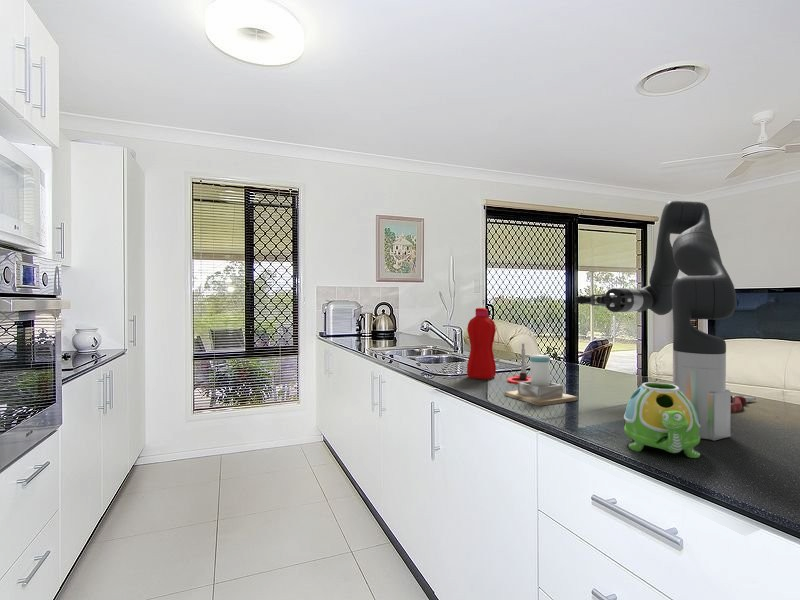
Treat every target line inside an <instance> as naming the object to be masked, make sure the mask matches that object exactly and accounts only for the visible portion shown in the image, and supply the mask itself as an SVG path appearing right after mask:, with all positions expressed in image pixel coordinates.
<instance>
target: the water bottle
mask: <svg viewBox="0 0 800 600" xmlns="http://www.w3.org/2000/svg"><path fill="white" fill-rule="evenodd" d="M489 315H490V313H489V310H488V309H487V308H485V307H477V308H475V316H474V317H472V318H471V319H469V321H468V324H467V335H468V339H469V343H470V352H469V356H468V359H467V365H466V367H467V368H466V376H467V377H468V378H469V379H475V380H483V381H486V380H490V379H492V378H494V377H495V376H496V373H497V370H496V369H497V366H496V365H497V364H496V359H495V356H494V351H493V345H496V346H499V344H500V343H499V342H500V339H499V337H500V336H497V340H498V341H497V344H495V337H496V336H495V335H496V334H497V335H499V333H498V329H497V325H496V323H495V320H493V319H492V318H491V317H489Z"/></svg>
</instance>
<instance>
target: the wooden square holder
mask: <svg viewBox="0 0 800 600" xmlns="http://www.w3.org/2000/svg"><path fill="white" fill-rule="evenodd" d="M525 381H526V380H525ZM563 388H564V387H563V384H558V383H555V382H550V386H545V387H537V386H533V385H531V381H526V382H518V384H517V389H516V390H508V391H504V393H503V394H504V396H506V397H509V398H513V399H516V400H519V401H523V402H525V403H528V404H529V403H530V404H533V405H536V406H538V407H542V406H549V405H554V404H561V403H562V404H563V403H567V402H576V401H578V396H575V395H571V394H567V393H564V392H563Z"/></svg>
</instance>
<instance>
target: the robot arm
mask: <svg viewBox="0 0 800 600" xmlns="http://www.w3.org/2000/svg"><path fill="white" fill-rule="evenodd" d="M710 216H711V215H710V209H709V207H708V205H707V204H706V203H704V202H700V201H688V200H686V201H685V200H670V201H668V202H666V203H665V205H664V207H663V209H662V212H661V216H660V222H659V227H658V233H657V238H656V240H657V241H656V249H655V258H654V263H653V266H652V271H651V274H650V277H649V285H646V286H644V287H641V288H635V289H634V288H628V287H626V288H625V287H624V288H623V287H614V288H613V287H612V288H610V289H608V290H607V291H606V293H600V294H590V295H579V296H578V295H577V296H575V301H574V303H575V304H577V305H579V304H580V305H590V306H595V307H596V306H599V307H606V309H607V310H608V311H610V312H612V313H631V312H644V311H648V310H650V311H651V312H653V313H655V314H656V315H658V316H664V315H667V314H669V313H670V312H671V311H672V324H673V326H672V327H673V334H672V335H673V337H672V339H673V340H672V384H673V385H676V386H678V387H679V389H680V391H681V392H682V393H683V394H684V395H685V396H686V397H687V398H688V399H689V400H690V402H691V403H692V404H693V406H694V409H695V411H696V413H697V416H698V421H699V424H700V428H699V436H700V439H705V440H709V441H710V440H711V441H717V440H721V439H726V438H729V437H731V413H732V412H731V396H732V394H731V390H730V389H726V388H727V387H726V386H727V383H726V382H727V379H726V378H727V374H726V373H727V370H726V369H727V343H726V340H725V339H723V338H721V337H719V336H715V335H712V334H709V333H706V332H704V331H702V330H700V329H698V328H696V327H695V326H693V324H692V322H691V320H712V321H713V320H725V319H727V318H729V317H732V315H733V314H734V312H735V311H736V307H737V292H736V288H735V285H734V283H733V280H732V279H731V277H730V275H729V273H728V271H727V270H726V267H725V266H724V264H723V261H722V257H721V254H720V250H719V246H718V243H717V241H716V238H715V236H714V234H713V229H712V225H711V217H710ZM671 234H673V235H678V236H677V237H676V238H675V239H674V241H673V244H671ZM679 272H682V274H685V275H682V276H681V275H680V276H678V275H679Z"/></svg>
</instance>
